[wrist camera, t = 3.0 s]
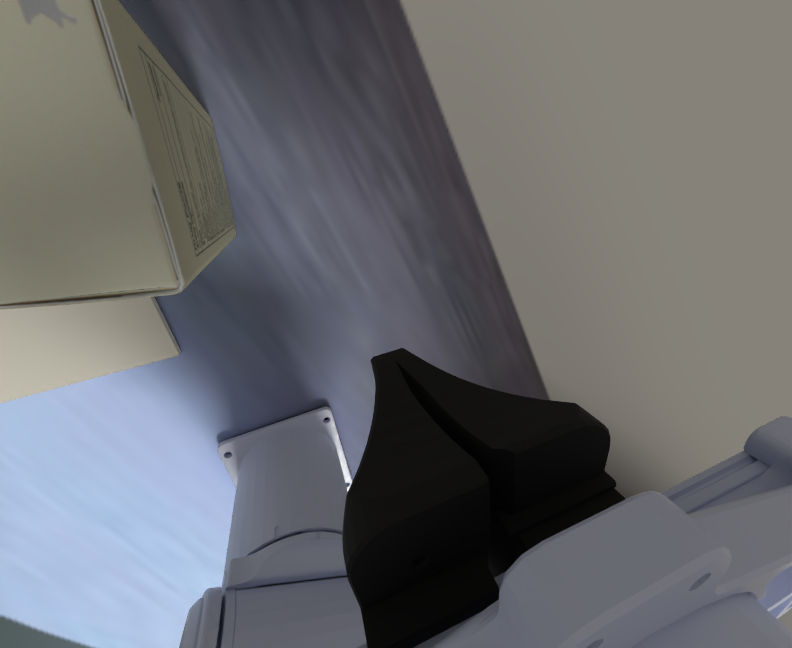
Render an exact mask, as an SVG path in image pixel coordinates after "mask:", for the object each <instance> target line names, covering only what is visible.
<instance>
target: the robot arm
mask: <svg viewBox="0 0 792 648" xmlns="http://www.w3.org/2000/svg"><path fill="white" fill-rule="evenodd" d="M371 364H372V368H373V372H374V377H375V384H376V392H375V406H374V413H373V419H372V425H371V429H370V433H369V437H368V441H367V445H366V448H365V451H364V454H363V457H362V459H361V462H360V465H359V468H358V470H357V473H356V475H355V477H354V479H353V482H352V479H351V475H350V472H349V469H348V465H347V462H346V459H345V455H344V452H343V449H342V445H341V442H340V439H339V435H338V432H337V428H336V425H335V422H334V418H333V415H332V412H331V409H330V408H329V407H322V408H319V409H316V410H313V411H310V412H307V413H304V414H301V415H298V416H295V417H292V418H289V419H286V420H284V421H281V422H278V423H275V424H272V425H269V426H266V427H263V428H260V429H257V430H254V431H251V432H248V433H245V434H242V435H240V436H237V437H234V438H231V439H228V440H225V441H222V442H221V443H220V444H219V445H218V449H217V451H218V453H219V455H220V457H221V459H222V461H223V463H224V465H225V467H226V469H227V471H228V473H229V475H230V477H231V479H232V481H233V483H234V485H235V487H236V494H235V501H234V508H233V515H232V522H231V528H230V535H229V542H228V549H227V556H226V563H225V570H224V577H223V583H222V587H221V588H220V587H215V588H209V589H207V590H206V591H205V592H204V594H203V597H202V598H200V599H199V600H198V601H197V602H196V603H195V604H194V605H193V606H192V607H191V608H190V610H189V613H188V616H187V619H186V623H185V627H184V631H183V635H182V638H181V642H180V646H179V648H792V632H791V631H790V630H789V629H788V628H787V627H785V625H783V624H782V623H781V622H780V621H779V620H778V618H779V617H780V616H782V615H783V614H784V613H786V612H787V611H788V610H789V609H791V608H792V418H790V417H788V416H781V417H779V418H777V419H775V420H773V421H771V422H769V423H767V424H765V425H763V426H761V427H759V428H758V429H756V430H755V431H754V432H753V433H752V434H751V435H750V436H749V438H748V439H747V441H746V443H745V446H744V451H742V452H740V453H738V454H736V455H734V456H732V457H730V458H728V459H727V460H725V461H722V462H721V463H718V464H717V465H715V466H713V467H711V468H709V469H707V470H705V471H703V472H701V473H699V474H697V475H695V476H693V477H691V478H689V479H687V480H685V481H683V482H681V483H679V484H677V485H675V486H673V487H671V488H669V489H667V490H665V491H663V492H661V493H658V492H652V491H647V492H644V493H641V494H638V495H635V496H632V497H630V498H628V499H625V498H624V497H623V496H622V495H621V494H620V493H619V492H617V490H615V489H614V487H616V482H615V480H614V479H613V478H612V477H611V476H609V475H608V474H607V473H606V472H605V471H604V469H605V465H606V461H607V457H608V452H609V448H610V434H609V431H608V429H607V428H606V427H605V425H604V424H602V423H601V422H600V421H599V420H597V419H596V418H595V417H593V416H592V415H591V414H589V413H588V412H587V411H585V410H584V409H583V408H581V407H580V406H579V405H577V404H575V403H569V402H559V401H550V400H541V399H535V398H529V397H523V396H518V395H513V394H509V393H505V392H501V391H497V390H493V389H489V388H486V387H483V386H480V385H477V384H474V383H471V382H468V381H465V380H463V379H460V378H458V377H456V376H454V375H451V374H449V373H447V372H445V371H443V370H441V369H439V368H437V367H435V366H433V365H431V364H429V363H427V362H426V361H424V360H422V359H421V358H419V357H417V356H415V355H414V354H412V353H410V352H409V351H407V350H405V349H404V348H401V349H397V350H394V351H391V352H388V353H385V354H381V355H378V356H375V357H373V358H372V359H371ZM326 417H329V419H328V420H324V418H326ZM226 452H231V454H226ZM346 483H347V484H346Z"/></svg>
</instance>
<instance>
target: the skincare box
mask: <svg viewBox="0 0 792 648" xmlns="http://www.w3.org/2000/svg"><path fill="white" fill-rule="evenodd" d="M235 236H236V230H235V224H234V218H233V213H232V208H231V203H230V198H229V193H228V189H227V184H226V180H225V175H224V171H223V166H222V162H221V158H220V153H219V149H218V145H217V141H216V137H215V133H214V129H213V125H212V121H211V118H210V116H209V115H208V113H207V112H206V111H205V110H204V108H203V107H202V106H201V105H200V103H199V102H198V101H197V100H196V98H195V97H194V96H193V95H192V93H191V92H190V91H189V89H188V88H187V87H186V85H185V84H184V83H183V82H182V81H181V79H180V78H179V77H178V75H177V74H176V73H175V72H174V70H173V69H172V68H171V67H170V65H169V64H168V63H167V62H166V60H165V59H164V58H163V56H162V55H161V54H160V53H159V51H158V50H157V48H156V47H155V46H154V45H153V44H152V42H151V41H150V40H149V38H148V37H147V36H146V35H145V33H144V32H143V31H142V29H141V28H140V27H139V26H138V25H137V23H136V22H135V21H134V20H133V18H132V17H131V16H130V14H129V13H128V12H127V11H126V9H125V8H124V7H123V6H122V4H121V3H120V2H119V1H118V0H0V309H16V308H29V307H43V306H57V305H71V304H82V303H92V302H103V301H117V300H128V299H137V298H147V297H157V296H167V295H174V294H178V293H180V292H182V291H183V290H184V289H185V288H186V287H187V286H188V285H189V284H190V283H191V282H192V281H193V280H194V279H195V278H196V277H197V275H198V274H199V273H200V272H201V271H202V270H203V269H204V268H205V267H206V266H207V265H208V264H209V263H210V262H211V261H212V260H213V259H214V258H215V257H216V256H217V255H218V254H219V253H220V252H221V251H222V250H223V249H224V248H225V247H226V246H227V245H228V244H229V243H230V242H231V241H232V240H233V239H234V238H235Z"/></svg>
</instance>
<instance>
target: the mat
mask: <svg viewBox="0 0 792 648" xmlns="http://www.w3.org/2000/svg"><path fill="white" fill-rule="evenodd" d="M180 353H181V350H180V348H179V346H178V344H177V342H176V340H175V338H174V336H173V334H172V332H171V330H170V328H169V326H168V324H167V322H166V320H165V317H164V315H163V313H162V311H161V309H160V307H159V305H158V303H157V301H156V299H155V297H147V298H137V299H128V300H117V301H103V302H92V303H82V304H71V305H57V306H43V307H29V308H16V309H0V403H3V402H6V401H10V400H14V399H18V398H21V397H25V396H29V395H33V394H36V393H40V392H44V391H48V390H51V389H55V388H59V387H63V386H66V385H70V384H74V383H78V382H81V381H85V380H89V379H93V378H96V377H100V376H104V375H108V374H111V373H115V372H119V371H123V370H126V369H130V368H134V367H138V366H141V365H145V364H149V363H153V362H156V361H160V360H164V359H168V358H171V357H175V356H179V355H180Z"/></svg>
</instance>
